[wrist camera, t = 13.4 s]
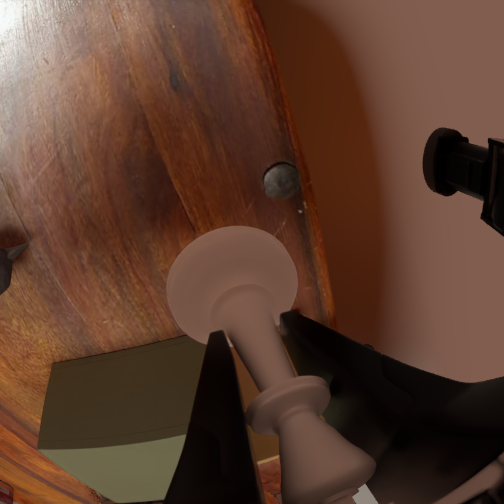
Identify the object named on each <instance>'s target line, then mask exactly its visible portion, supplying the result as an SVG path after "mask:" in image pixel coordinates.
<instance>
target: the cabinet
mask: <svg viewBox="0 0 504 504" xmlns="http://www.w3.org/2000/svg"><path fill="white" fill-rule="evenodd" d="M206 346H207V344H203V343H201V342H198V341H196V340H194V339H193V338H191V337H190V336H188V335H186V336H182V337H178V338H174V339H170V340H165V341H161V342H157V343H153V344H149V345H144V346H140V347H135V348H131V349H126V350H122V351H117V352H112V353H107V354H102V355H97V356H92V357H87V358H82V359H76V360H71V361H65V362H59V363H53V365H52V370H51V373H50V378H49V382H48V387H47V391H46V396H45V401H44V407H43V412H42V418H41V425H40V432H39V439H38V447H37V450H38V451H40V452H41V453H42V454H43V455H45V456H46V457H47V458H48V459H50V460H51V461H52V462H54V463H55V464H56V465H58V466H59V467H60V468H62V469H63V470H64V471H66V472H67V473H69V474H70V475H72V476H73V477H75V478H76V479H78V480H79V481H81V482H82V483H84V484H85V485H87V486H88V487H90V488H92V489H93V490H95V491H97V492H98V493H100V494H102V495H103V496H105V497H107V498H109V499H110V500H112V501H114V502H116V503H129V502H144V501H154V500H163V499H164V498H165V496H166V493H167V490H168V488H169V485H170V482H171V480H172V477H173V475H174V472H175V469H176V467H177V464H178V461H179V458H180V455H181V452H182V449H183V446H184V442H185V438H186V434H187V429H188V425H189V422H190V416H191V412H192V407H193V403H194V398H195V394H196V389H197V385H198V381H199V376H200V372H201V367H202V363H203V359H204V355H205V350H206Z"/></svg>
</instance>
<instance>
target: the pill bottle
mask: <svg viewBox="0 0 504 504" xmlns="http://www.w3.org/2000/svg"><path fill="white" fill-rule="evenodd" d="M0 504H13V489H12V487H10V486H9V485H7V484H6V483H4V482H2V481H0Z"/></svg>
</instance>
